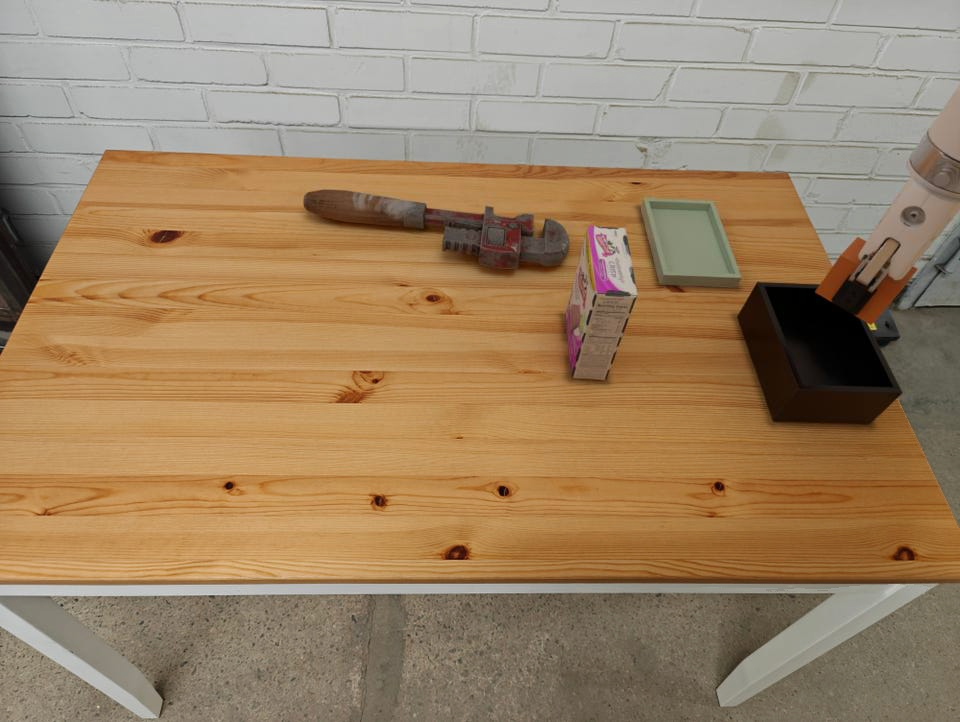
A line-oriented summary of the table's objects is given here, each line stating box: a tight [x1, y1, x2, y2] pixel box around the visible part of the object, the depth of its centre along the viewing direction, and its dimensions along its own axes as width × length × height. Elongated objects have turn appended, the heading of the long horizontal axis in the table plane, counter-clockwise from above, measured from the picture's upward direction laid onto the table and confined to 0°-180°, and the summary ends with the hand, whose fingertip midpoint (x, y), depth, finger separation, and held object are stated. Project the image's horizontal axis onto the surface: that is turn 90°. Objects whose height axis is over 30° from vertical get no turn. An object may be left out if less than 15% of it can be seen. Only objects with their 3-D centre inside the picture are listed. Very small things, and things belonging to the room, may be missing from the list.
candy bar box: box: [565, 225, 639, 381], centre depth 77 cm, size 11×5×16 cm, turn 179°
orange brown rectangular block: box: [815, 236, 919, 326], centre depth 71 cm, size 7×4×6 cm, turn 45°
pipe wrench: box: [302, 188, 571, 270], centre depth 93 cm, size 40×12×5 cm, turn 85°
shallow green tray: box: [639, 197, 743, 289], centre depth 97 cm, size 18×12×2 cm, turn 0°
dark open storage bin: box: [736, 281, 903, 425], centre depth 81 cm, size 18×13×7 cm
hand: (854, 294), depth 73 cm, fingers closed on orange brown rectangular block, 4 cm apart
